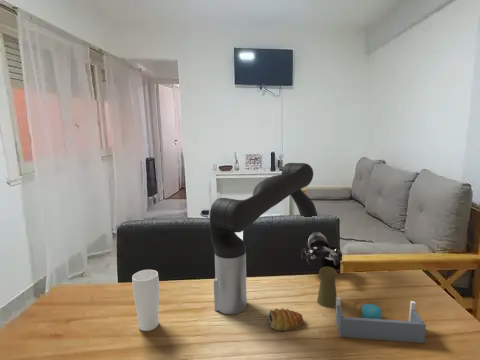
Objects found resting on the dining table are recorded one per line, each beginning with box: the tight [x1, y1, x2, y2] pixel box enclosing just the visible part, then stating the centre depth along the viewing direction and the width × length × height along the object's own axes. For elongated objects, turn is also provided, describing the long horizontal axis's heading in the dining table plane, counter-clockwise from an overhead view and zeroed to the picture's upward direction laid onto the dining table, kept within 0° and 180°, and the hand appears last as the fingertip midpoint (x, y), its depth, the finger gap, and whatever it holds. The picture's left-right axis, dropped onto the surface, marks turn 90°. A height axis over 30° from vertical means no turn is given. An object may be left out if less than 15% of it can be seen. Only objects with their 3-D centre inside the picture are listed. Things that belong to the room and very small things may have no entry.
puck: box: [361, 303, 383, 319], centre depth 84 cm, size 5×5×3 cm
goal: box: [335, 296, 427, 344], centre depth 78 cm, size 20×7×7 cm, turn 82°
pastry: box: [268, 307, 304, 332], centre depth 82 cm, size 9×7×4 cm
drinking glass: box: [131, 269, 160, 332], centre depth 81 cm, size 7×7×15 cm
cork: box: [316, 266, 338, 309], centre depth 92 cm, size 6×6×11 cm
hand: (323, 262), depth 102 cm, fingers open, 8 cm apart
